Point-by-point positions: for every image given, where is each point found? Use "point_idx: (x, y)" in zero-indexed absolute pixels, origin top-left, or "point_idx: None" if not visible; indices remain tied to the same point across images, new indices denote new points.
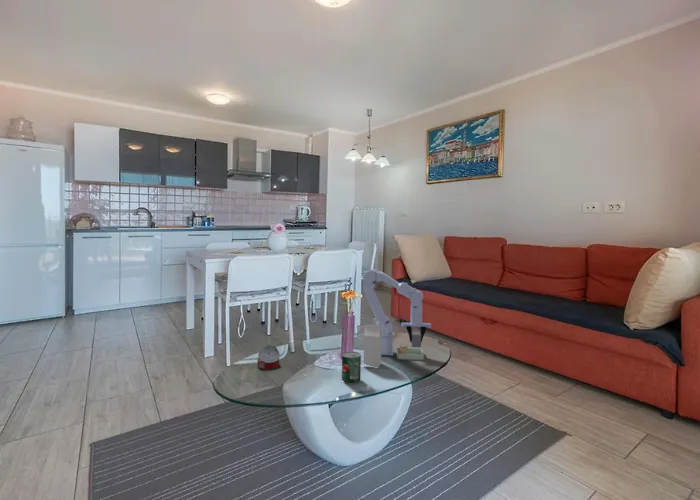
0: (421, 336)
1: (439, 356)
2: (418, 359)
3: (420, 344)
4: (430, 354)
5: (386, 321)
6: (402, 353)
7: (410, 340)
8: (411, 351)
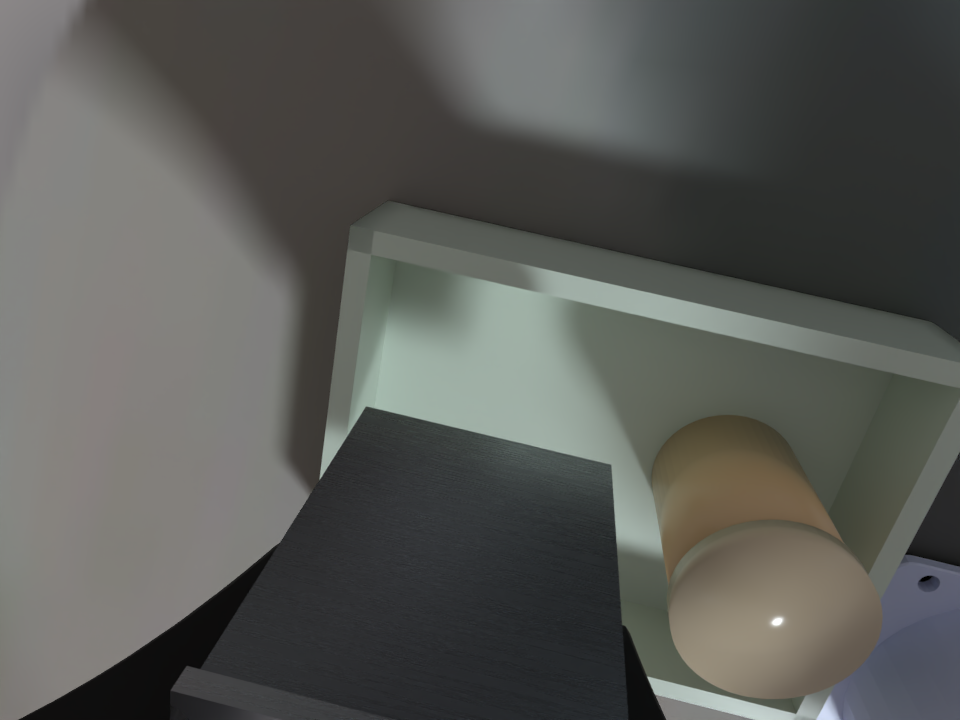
0: None
1: (62, 384)
2: (503, 230)
3: (357, 447)
4: (193, 498)
5: None
6: (791, 465)
7: (635, 657)
8: None
